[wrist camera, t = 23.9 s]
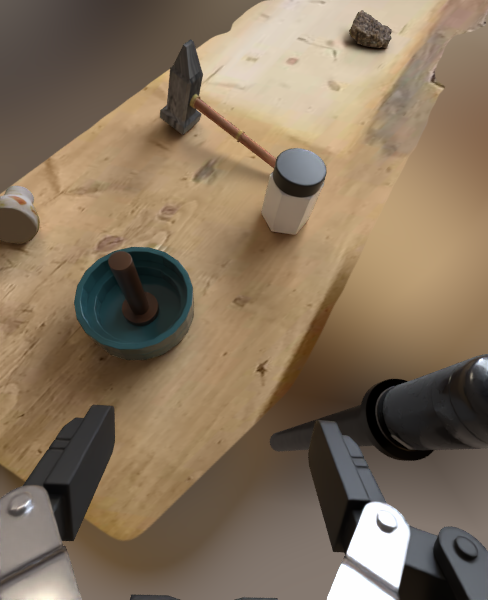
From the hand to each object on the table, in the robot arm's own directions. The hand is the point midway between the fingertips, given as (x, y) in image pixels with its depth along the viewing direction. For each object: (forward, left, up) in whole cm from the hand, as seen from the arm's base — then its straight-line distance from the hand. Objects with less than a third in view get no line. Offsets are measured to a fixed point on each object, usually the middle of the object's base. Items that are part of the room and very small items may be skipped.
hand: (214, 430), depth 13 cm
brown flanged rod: (+4, -22, -33) cm, 40 cm away
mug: (+19, -44, -34) cm, 58 cm away
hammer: (-21, -52, -34) cm, 66 cm away
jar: (-25, -33, -34) cm, 54 cm away
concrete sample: (-73, -84, -34) cm, 116 cm away
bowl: (+4, -22, -34) cm, 40 cm away
